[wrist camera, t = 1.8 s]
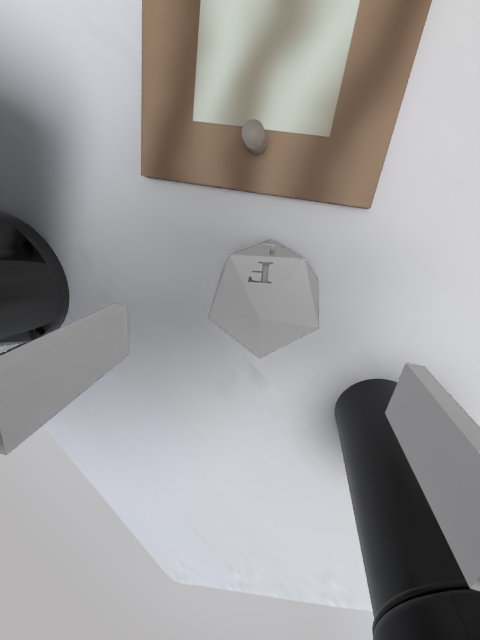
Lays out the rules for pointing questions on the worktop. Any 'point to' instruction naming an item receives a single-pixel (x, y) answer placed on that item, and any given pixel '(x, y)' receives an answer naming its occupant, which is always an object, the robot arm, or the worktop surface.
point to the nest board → (276, 93)
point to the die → (266, 298)
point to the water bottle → (399, 529)
